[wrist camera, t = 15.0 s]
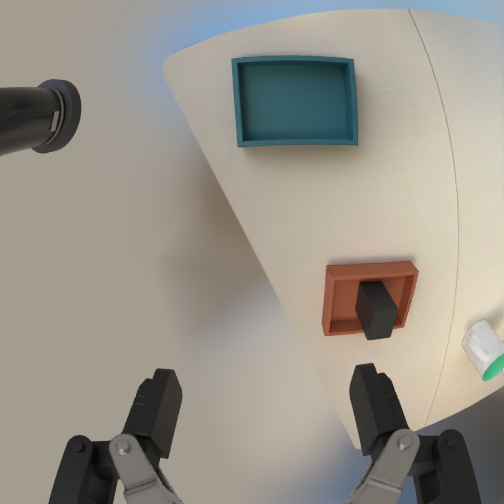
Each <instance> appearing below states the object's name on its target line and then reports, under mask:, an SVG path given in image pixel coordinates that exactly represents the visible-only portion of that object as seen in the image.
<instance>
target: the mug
mask: <svg viewBox="0 0 504 504" xmlns="http://www.w3.org/2000/svg"><path fill="white" fill-rule="evenodd" d="M462 348H463V349H464V351H465V352H466V354H467V356H468V357H469V359H470V360H471V362H472V364H473V365H474V367H475V368H476V370H477V372H478V373H479V375H480V377H481V379H482V380H483V381H488V380H490V379H492V378H493V377H495V376H496V375H497V374H499V373H500V372H501V371H502V370H503V368H504V342H503V341H502V340H501V338H500V337H499V336H498V335H497V333H496V332H495V331H494V329H493V328H492V327H491V326H490V324H489V323H488V322H487V321H485V320H482V321H479V322H478V323H476V324H475V325H473V326H472V327H471V328H470V329H469V330H468V331H467V333H466V334H465V336H464V338H463V340H462Z"/></svg>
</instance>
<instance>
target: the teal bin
mask: <svg viewBox="0 0 504 504" xmlns="http://www.w3.org/2000/svg"><path fill="white" fill-rule="evenodd" d="M231 60H232V75H233V89H234V102H235V116H236V130H237V143H238V147H243V146H244V147H249V146H267V145H302V144H325V145H358V121H357V99H356V84H355V72H354V62H353V59H348V58H337V57H322V56H259V57H244V58H233V59H231Z"/></svg>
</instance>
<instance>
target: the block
mask: <svg viewBox="0 0 504 504" xmlns="http://www.w3.org/2000/svg"><path fill="white" fill-rule="evenodd" d="M355 311H356V313H357V316H358V318H359V321H360V323H361V326H362V328H363V331H364V333H365V336H366V338H367V340H375V339H382V338H389V337H390V336H391V333H392V330H393V326H394V323H395V319H396V316H397V312H398V307H397V305H396V304H395V302H394V300H393V299H392V297H391V296H390V294H389V292H388V291H387V289H386V288H385V286H384V284H383V283H382V281H381V280H380V281H366V282H359V288H358V294H357V301H356V307H355Z"/></svg>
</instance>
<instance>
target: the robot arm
mask: <svg viewBox="0 0 504 504" xmlns="http://www.w3.org/2000/svg"><path fill="white" fill-rule="evenodd" d="M65 114H66V106H65V100H64V97H63V95H62V93H61V92H60V91H59V90H58V89H56V88H54V87H9V88H0V156H2V155H6V154H9V153H12V152H17V151H21V150H25V149H29V148H33V147H37V146H45V145H48V144H50V143H51V142H53V141H54V140H55V139H56V138H57V136H58V135H59V133H60V131H61V129H62V127H63V124H64V120H65ZM349 394H350V400H351V404H352V408H353V412H354V416H355V421H356V425H357V429H358V434H359V438H360V443H361V448H362V452H363V456H367V455H371V458H372V462H371V463H370V465H369V467H368V468H367V470H366V472H365V474H364V475H363V477H362V478H361V480H360V482H359V483H358V485H357V486H356V488H355V489H354V491H353V492H352V494H351V495H350V497H349V498H348V499H347V500H346V502H345V503H344V504H397V502H398V500H399V498H400V496H401V493H402V485H403V483H404V481H405V479H406V476H413V478H414V484H415V489H416V496H417V502H418V504H481V500H480V495H479V490H478V486H477V482H476V478H475V474H474V470H473V467H472V463H471V460H470V456H469V453H468V450H467V447H466V444H465V441H464V438H463V436H462V434H461V433H460V432H458V431H457V430H454V429H449V430H445V431H444V432H442V433H441V434H440V435H439V436H421V435H418V434H416V433H415V432H414V431H412V430H410V428H409V427H408V425H407V422H406V419H405V416H404V413H403V410H402V408H401V405H400V402H399V399H398V397H397V394H396V392H395V389H394V386H393V384H392V381H391V380H390V379H389V377H388V376H387V375H386V374H385V373H379V374H377V371H376V368H375V366H374V364H373V363H368V364H361V365H356V367H355V370H354V373H353V376H352V380H351V383H350V388H349ZM181 402H182V389H181V387H180V384H179V382H178V379H177V376H176V374H175V371H174V370H171V369H160V368H158V369H156V371H155V373H154V376H153V379H148V378H147V379H146V380H145V381H144V382H143V383H142V384H141V385H140V386H139V389H138V391H137V394H136V397H135V399H134V402H133V405H132V407H131V410H130V413H129V415H128V418H127V421H126V423H125V426H124V429H123V431H122V433H121V434H119V435H117V436H115V437H114V438H113V439H112V440H110V441H90V440H89V439H88V438H87V437H85V436H82V435H77V436H74V437H72V438H71V439H70V440H69V441H68V443H67V445H66V448H65V451H64V454H63V457H62V460H61V463H60V466H59V469H58V472H57V475H56V478H55V482H54V485H53V489H52V492H51V495H50V499H49V503H48V504H113V500H114V495H115V491H116V486H117V482H118V479H121V481H122V483H123V485H124V488H125V491H124V492H123V493H124V497H125V499H126V501H127V503H128V504H184V503H183V502H182V500H180V498H179V497H178V496H177V494H176V493H175V491H174V490H173V488H172V486H171V485H170V483H169V481H168V480H167V478H166V476H165V475H164V473H163V472H162V469H161V468H160V466H159V461H160V458H165V459H168V457H169V453H170V448H171V444H172V440H173V435H174V431H175V427H176V423H177V419H178V415H179V410H180V406H181Z"/></svg>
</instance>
